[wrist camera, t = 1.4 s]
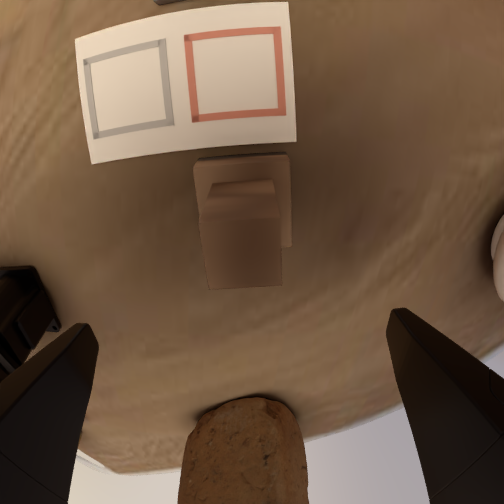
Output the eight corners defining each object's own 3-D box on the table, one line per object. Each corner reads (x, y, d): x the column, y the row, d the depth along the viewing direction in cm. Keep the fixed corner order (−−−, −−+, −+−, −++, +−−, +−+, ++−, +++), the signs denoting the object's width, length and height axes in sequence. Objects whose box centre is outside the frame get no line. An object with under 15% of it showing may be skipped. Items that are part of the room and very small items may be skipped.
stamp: (209, 234, 20) (191, 307, 14) (199, 157, 17) (170, 202, 11) (287, 229, 20) (303, 301, 14) (285, 151, 17) (304, 192, 11)
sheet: (93, 163, 17) (91, 164, 17) (76, 39, 13) (74, 38, 13) (296, 141, 17) (296, 142, 17) (287, 2, 13) (288, 1, 13)
